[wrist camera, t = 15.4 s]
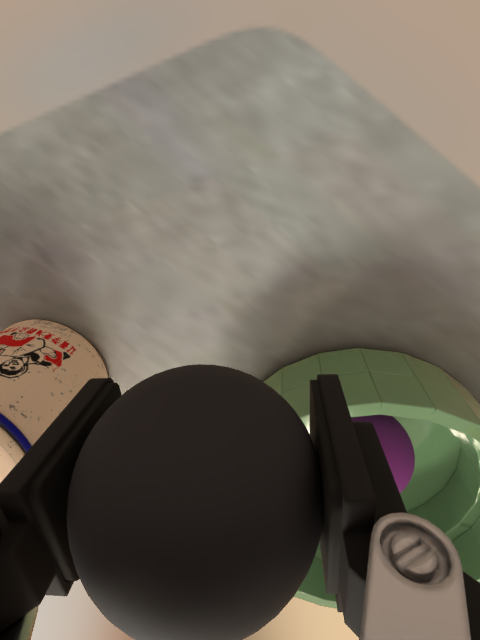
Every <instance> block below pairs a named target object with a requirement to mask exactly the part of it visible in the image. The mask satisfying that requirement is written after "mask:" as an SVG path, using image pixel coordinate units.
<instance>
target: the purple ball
mask: <svg viewBox="0 0 480 640" xmlns="http://www.w3.org/2000/svg"><path fill="white" fill-rule="evenodd" d="M351 419H352V422H371V423H372V424H373V426H374V428H375V430H376V433H377V435H378V438H379V440H380V443H381V446H382V448H383V451H384V454H385V456H386V459H387V461H388V464H389V467H390V469H391V472H392V474H393V477H394V480H395V482H396V485H397V487H398V490H399V493H401V492H402V491H403V490H404V489H405V488H406V486H407V485H408V483H409V482H410V480H411V477H412V475H413V472H414V466H415V454H414V448H413V445H412V442H411V439H410V437H409V435H408V433H407V432H406V430H405V429H404V427H403V426H402V425H401V424H400V423H399V422H398V421H397V420H396V419H395V418H394V417H393V416H388V415H371V416H360V417H351Z"/></svg>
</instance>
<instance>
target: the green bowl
mask: <svg viewBox="0 0 480 640" xmlns="http://www.w3.org/2000/svg"><path fill="white" fill-rule="evenodd" d="M318 374H338V376H339V380H340V383H341V386H342V390H343V393H344V396H345V399H346V403H347V406H348V409H349V412H350V416H351V417H360V416H371V415H388V416H393V417H394V418H395V419H396V420H397V421H398V422H399V423H400V424H401V425H402V426H403V427H404V429H405V430H406V432H407V433H408V435H409V437H410V439H411V442H412V445H413V448H414V454H415V466H414V472H413V475H412V477H411V480H410V482H409V483H408V485H407V486H406V488H405V489H404V490H403V491H402V492H401V493H400V495H401V498H402V500H403V503H404V506H405V508H406V511H407V513H408V514H414V515H416V516H419V517H421V518H424V519H426V520H428V521H429V522H431V523H432V524H434V525H435V526H437V527H438V528H440V530H441V531H442V532H443V533H444V534H445V535H446V536H447V537H448V538H449V539H450V540H451V542H452V543H453V545H454V546H455V548H456V550H457V551H458V554H459V557H460V561H461V564H462V570H463V571H464V572H465V573H466V574H468V575H469V576H471V577H472V578H473V579H475V580H476V581H478V582H479V583H480V404H479V403H478V402H477V401H476V400H475V398H474V397H473V396H472V395H471V393H470V392H469V391H468V390H467V389H466V388H465V387H464V386H462V385H461V384H460V383H459V382H457V381H456V380H455V379H454V378H452V377H451V376H450V375H448V374H447V373H446V372H445V371H443V370H442V369H441V368H439V367H438V366H435V365H433V364H430V363H427V362H425V361H422V360H420V359H417V358H414V357H412V356H409V355H407V354H404V353H400V352H391V351H382V350H373V349H364V348H360V349H359V348H353V349H346V350H339V351H331V352H324V353H318V354H316V355H313V356H311V357H308V358H306V359H303V360H301V361H298V362H296V363H293V364H291V365H288V366H286V367H283V368H281V369H280V370H279V371H277V372H276V373H275V374H273V375H272V376H271V377H269V378H268V379H267V380H265V381H264V383H266V384H267V385H268V386H270V387H271V388H273V389H274V390H275V391H276V392H277V393H278V394H279V395H281V396H282V397H283V398H284V399H285V400H286V401H287V402H288V403H289V404H290V405H291V407H292V408H293V409H294V410H295V411H296V413H297V414H298V416H299V417H300V419H301V420H302V422H303V423H304V425H305V426H306V428H307V430H308V432H309V434H310V380H317V375H318ZM294 597H297V598H300V599H303V600H306V601H309V602H312V603H315V604H317V605H320V606H325V607H331V608H337V603H336V596H335V594H327V593H326V589H325V581H324V573H323V565H322V557H321V549H320V541H319V546H318V548H317V551H316V554H315V557H314V560H313V562H312V565H311V567H310V570H309V572H308V574H307V575H306V577H305V579H304V581H303V582H302V584H301V586H300V587H299V589H298V590H297V592H296V594H295V595H294Z"/></svg>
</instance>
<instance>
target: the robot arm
mask: <svg viewBox="0 0 480 640" xmlns="http://www.w3.org/2000/svg"><path fill="white" fill-rule="evenodd" d="M121 396H122V395H121V391H120V388H119V385H118V384H117V383H114V382H113V380H112V379H111V378H92V379H90V380H88V381H87V383H86V384H85V385H84V386H83V387H82V388H81V390H80V391H79V392H78V393H77V394H76V395H75V397H74V398H73V399H72V400H71V401H70V402H69V404H68V405H67V406H66V407H65V408H64V409H63V411H62V412H61V413H60V414H59V415H58V416H57V418H56V419H55V420H54V421H53V422H52V423H51V425H50V426H49V427H48V428H47V429H46V430H45V432H44V433H43V434H42V435H41V436H40V437H39V439H38V440H37V441H36V442H35V443H34V444H33V446H32V447H31V448H30V449H29V450H28V451H27V453H26V454H25V455H24V456H23V457H22V458H21V460H20V461H19V462H18V463H17V464H16V465H15V467H14V468H13V469H12V470H11V471H10V472H9V474H8V475H7V476H6V477H5V478H4V479H3V481H2V482H1V483H0V640H30V639H31V636H32V631H33V628H34V624H35V619H36V615H37V612H38V605H39V604H40V603H41V601H42V600H43V598H44V596H45V595H54V596H67V595H68V593H69V591H70V589H71V586H72V584H73V582H74V581H77V580H79V579H80V578H79V576H78V574H77V571H76V568H75V565H74V562H73V558H72V555H71V551H70V547H69V540H68V530H67V504H68V492H69V487H70V483H71V478H72V474H73V470H74V466H75V464H76V461H77V459H78V456H79V453H80V451H81V449H82V447H83V445H84V443H85V441H86V439H87V437H88V435H89V434H90V432H91V430H92V428H93V427H94V426H95V424H96V423H97V422H98V420H99V419H100V418H101V416H102V415H103V414H104V413H105V411H106V410H107V409H108V408H109V407H110V406H111V405H112V404H113V403H114V402H115V401H116V400H117V399H118V398H119V397H121ZM310 437H311V439H312V441H313V443H314V446H315V448H316V450H317V454H318V458H319V462H320V470H321V478H322V491H323V512H324V519H323V527H322V533H321V537H320V549H321V557H322V565H323V573H324V581H325V589H326V593H327V594H335V596H336V603H337V610H338V612H343V615H344V621H345V624H346V625H347V626H348V627H349V628H350V629H351V630H352V631H353V632H354V633H355V634H356V635H357V636H358V637H359V640H480V583H479V582H478V581H476V580H475V579H473V578H472V577H471V576H469V575H468V574H466V573H465V572H464V571H463V570H462V564H461V561H460V557H459V554H458V551H457V550H456V548H455V546H454V545H453V543H452V542H451V540H450V539H449V538H448V537H447V536H446V535H445V534H444V533H443V532H442V531H441V530H440V528H438V527H437V526H435V525H434V524H432V523H431V522H429V521H428V520H426V519H424V518H421V517H419V516H416V515H414V514H408V513H407V511H406V508H405V506H404V503H403V500H402V498H401V495H400V493H399V490H398V487H397V485H396V482H395V480H394V477H393V474H392V472H391V469H390V467H389V464H388V461H387V459H386V456H385V454H384V451H383V448H382V446H381V443H380V440H379V438H378V435H377V433H376V430H375V428H374V426H373V424H372V423H371V422H352V419H351V416H350V412H349V409H348V406H347V403H346V399H345V396H344V393H343V390H342V386H341V383H340V380H339V376H338V374H318V375H317V380H310Z"/></svg>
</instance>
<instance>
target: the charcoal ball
mask: <svg viewBox="0 0 480 640" xmlns="http://www.w3.org/2000/svg"><path fill="white" fill-rule="evenodd" d="M323 519H324V512H323V491H322V478H321V470H320V462H319V458H318V454H317V450H316V448H315V446H314V443H313V441H312V439H311V437H310V434H309V432H308V430H307V428H306V426H305V425H304V423H303V422H302V420H301V419H300V417H299V416H298V414H297V413H296V411H295V410H294V409H293V408H292V407H291V405H290V404H289V403H288V402H287V401H286V400H285V399H284V398H283V397H282V396H281V395H279V394H278V393H277V392H276V391H275V390H274V389H273V388H271V387H270V386H268V385H267V384H266V383H264V382H263V381H261V380H259V379H257V378H255V377H253V376H252V375H249V374H247V373H244V372H242V371H239V370H235V369H232V368H228V367H223V366H216V365H187V366H182V367H177V368H173V369H170V370H166V371H163V372H161V373H158V374H155V375H153V376H151V377H149V378H147V379H145V380H143V381H142V382H140V383H138V384H136V385H135V386H134V387H132V388H131V389H129V390H128V391H126V392H125V393H124V394H123V395H122V396H121V397H119V398H118V399H117V400H116V401H115V402H114V403H113V404H112V405H111V406H110V407H109V408H108V409H107V410H106V411H105V413H104V414H103V415H102V416H101V418H100V419H99V420H98V422H97V423H96V424H95V426H94V427H93V428H92V430H91V432H90V434H89V435H88V437H87V439H86V441H85V443H84V445H83V447H82V449H81V451H80V453H79V456H78V459H77V461H76V464H75V466H74V470H73V474H72V478H71V483H70V487H69V492H68V504H67V530H68V540H69V547H70V551H71V555H72V558H73V562H74V565H75V568H76V571H77V574H78V576H79V578H80V580H81V582H82V584H83V586H84V588H85V590H86V592H87V594H88V596H89V597H90V598H91V600H92V601H93V602H94V604H95V605H96V606H97V608H98V609H99V610H100V611H101V613H102V614H103V615H104V616H105V617H106V618H107V619H108V620H109V621H110V622H111V623H112V624H114V625H115V626H116V627H118V628H119V629H120V630H121V631H123V632H124V633H126V634H127V635H128V636H130V637H132V638H133V639H135V640H243V639H244V638H247V637H248V636H250V635H252V634H254V633H255V632H257V631H259V630H260V629H261V628H262V627H263V626H265V625H266V624H267V623H268V622H270V621H271V620H272V619H273V618H275V617H276V616H277V615H278V614H279V613H280V611H281V610H282V609H283V608H284V607H285V606H286V605H287V603H288V602H289V601H290V600H291V599H292V598H293V597H294V595H295V594H296V592H297V590H298V589H299V587H300V586H301V584H302V582H303V581H304V579H305V577H306V575H307V574H308V572H309V570H310V567H311V565H312V562H313V560H314V557H315V554H316V551H317V548H318V546H319V541H320V537H321V533H322V527H323Z"/></svg>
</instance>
